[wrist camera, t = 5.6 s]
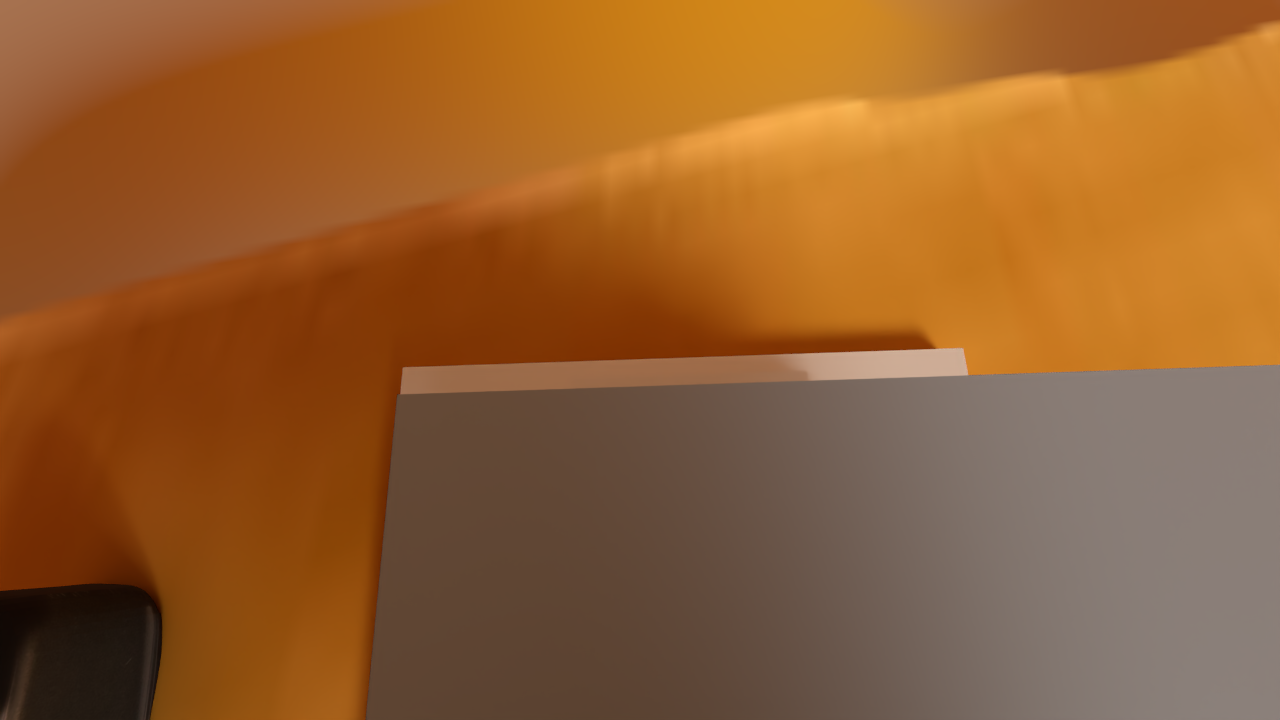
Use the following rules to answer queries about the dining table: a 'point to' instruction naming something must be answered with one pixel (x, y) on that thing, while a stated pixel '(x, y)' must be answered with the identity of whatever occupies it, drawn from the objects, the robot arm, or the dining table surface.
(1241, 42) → the dining table surface
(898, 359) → the white flat stepped block
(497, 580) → the plug
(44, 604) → the mobile phone
